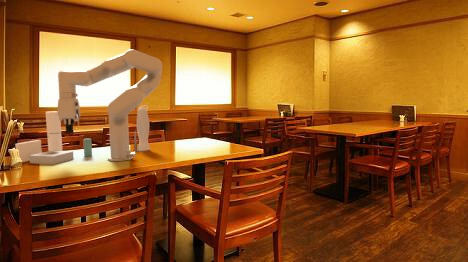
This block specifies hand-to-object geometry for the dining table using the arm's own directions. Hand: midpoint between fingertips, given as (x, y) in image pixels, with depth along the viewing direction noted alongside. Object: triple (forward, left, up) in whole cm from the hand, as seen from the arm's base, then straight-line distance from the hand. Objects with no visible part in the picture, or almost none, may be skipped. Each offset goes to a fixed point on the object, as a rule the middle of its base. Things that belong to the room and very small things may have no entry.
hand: (69, 132), depth 162 cm
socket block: (+12, 0, -15) cm, 19 cm away
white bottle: (-19, -39, -16) cm, 46 cm away
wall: (+26, 0, -16) cm, 30 cm away
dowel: (+2, -15, -16) cm, 22 cm away
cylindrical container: (+26, -18, -16) cm, 35 cm away
